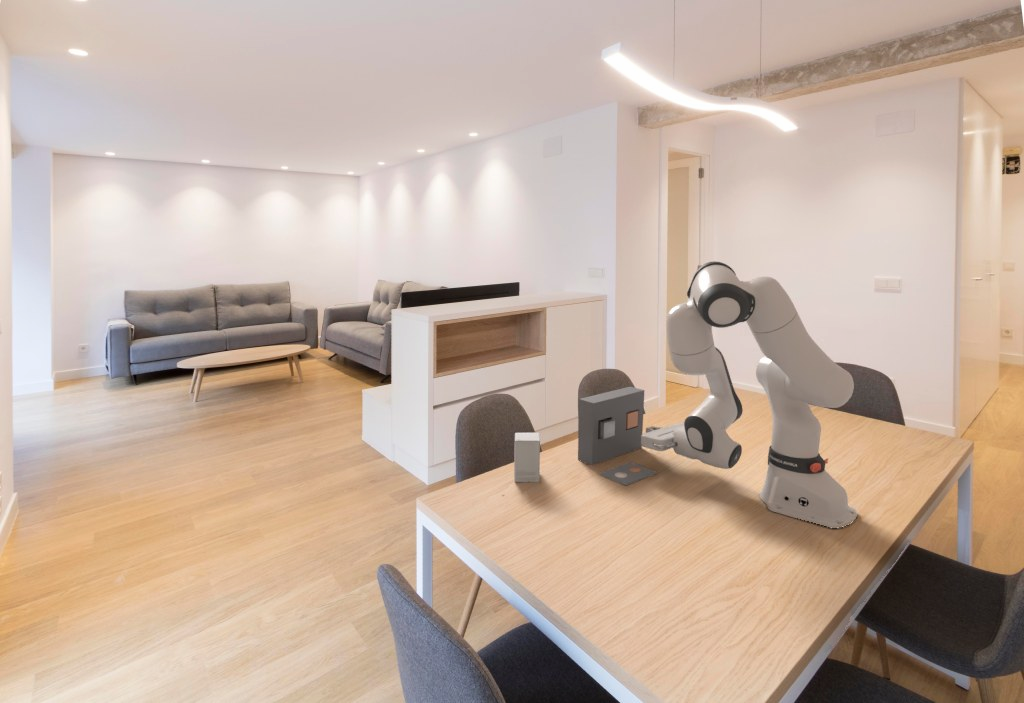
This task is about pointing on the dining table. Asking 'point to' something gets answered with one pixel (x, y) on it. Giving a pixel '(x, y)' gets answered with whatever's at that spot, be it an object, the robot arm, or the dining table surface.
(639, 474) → the pattern card
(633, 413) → the button terracotta
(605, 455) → the panel
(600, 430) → the grey button
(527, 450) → the supplement box
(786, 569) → the dining table surface
